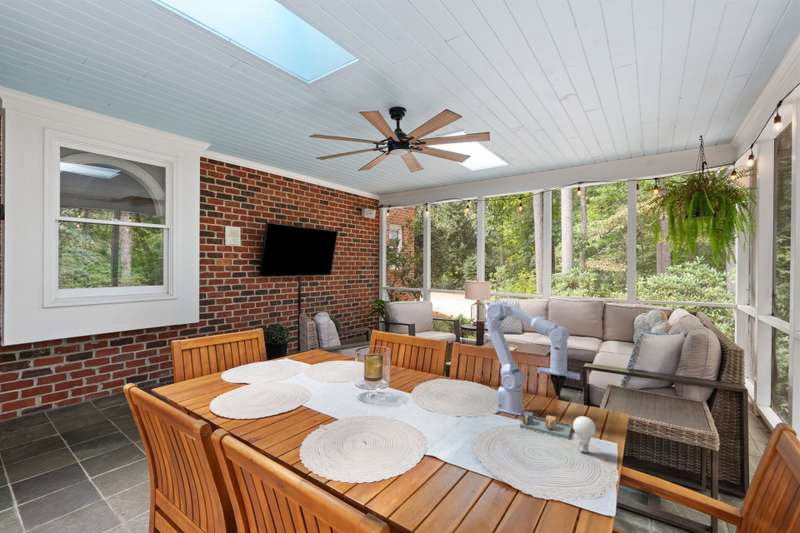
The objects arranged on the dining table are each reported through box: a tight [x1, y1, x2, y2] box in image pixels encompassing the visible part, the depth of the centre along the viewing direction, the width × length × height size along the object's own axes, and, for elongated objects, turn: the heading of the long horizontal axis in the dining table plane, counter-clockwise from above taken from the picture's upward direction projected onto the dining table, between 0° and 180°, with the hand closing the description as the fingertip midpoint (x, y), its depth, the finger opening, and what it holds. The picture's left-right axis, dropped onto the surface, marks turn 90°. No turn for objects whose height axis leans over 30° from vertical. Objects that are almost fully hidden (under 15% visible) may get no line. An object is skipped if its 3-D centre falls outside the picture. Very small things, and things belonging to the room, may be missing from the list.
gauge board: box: [519, 410, 573, 440], centre depth 131 cm, size 16×10×4 cm, turn 60°
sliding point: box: [545, 414, 557, 429], centre depth 129 cm, size 3×5×3 cm, turn 150°
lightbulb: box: [572, 415, 597, 454], centre depth 114 cm, size 6×6×11 cm
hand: (557, 395), depth 136 cm, fingers closed
